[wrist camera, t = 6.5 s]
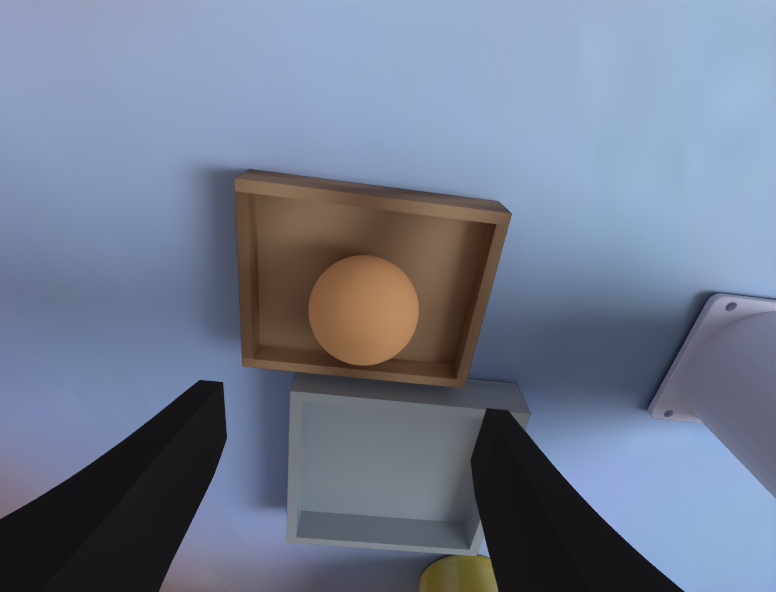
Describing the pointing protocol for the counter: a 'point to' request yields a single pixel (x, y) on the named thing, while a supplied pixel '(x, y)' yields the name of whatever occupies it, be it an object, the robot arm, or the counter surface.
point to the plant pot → (459, 575)
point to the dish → (388, 462)
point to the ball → (363, 310)
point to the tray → (363, 237)
